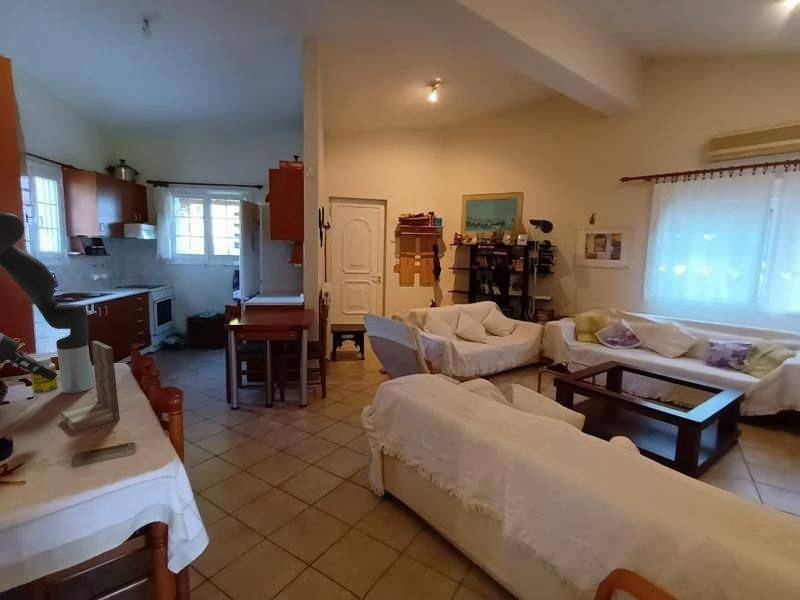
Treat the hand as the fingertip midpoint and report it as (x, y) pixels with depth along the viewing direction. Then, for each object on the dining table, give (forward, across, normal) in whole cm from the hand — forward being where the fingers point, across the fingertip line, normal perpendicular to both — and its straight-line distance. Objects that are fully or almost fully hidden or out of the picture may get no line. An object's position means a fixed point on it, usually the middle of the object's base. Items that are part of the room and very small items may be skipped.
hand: (51, 375), depth 120 cm
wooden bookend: (+17, 0, +7) cm, 19 cm away
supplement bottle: (+2, 0, +5) cm, 5 cm away
